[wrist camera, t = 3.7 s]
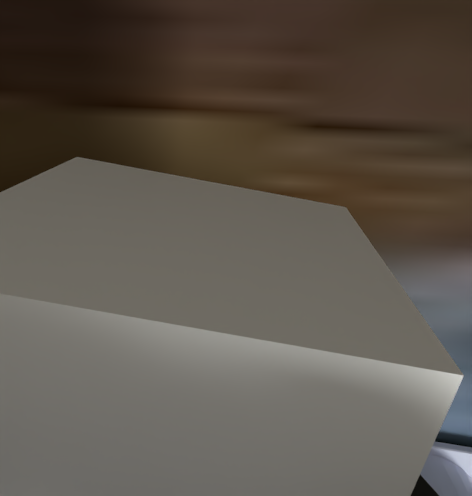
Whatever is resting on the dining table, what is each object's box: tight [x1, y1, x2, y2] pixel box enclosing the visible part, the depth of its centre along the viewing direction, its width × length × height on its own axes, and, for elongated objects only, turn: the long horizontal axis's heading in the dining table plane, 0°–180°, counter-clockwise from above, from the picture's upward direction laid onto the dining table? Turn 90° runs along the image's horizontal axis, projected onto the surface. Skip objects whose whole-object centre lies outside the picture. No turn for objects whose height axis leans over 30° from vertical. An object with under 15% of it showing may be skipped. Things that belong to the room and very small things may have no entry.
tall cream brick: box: [0, 157, 464, 496], centre depth 9 cm, size 9×6×6 cm
